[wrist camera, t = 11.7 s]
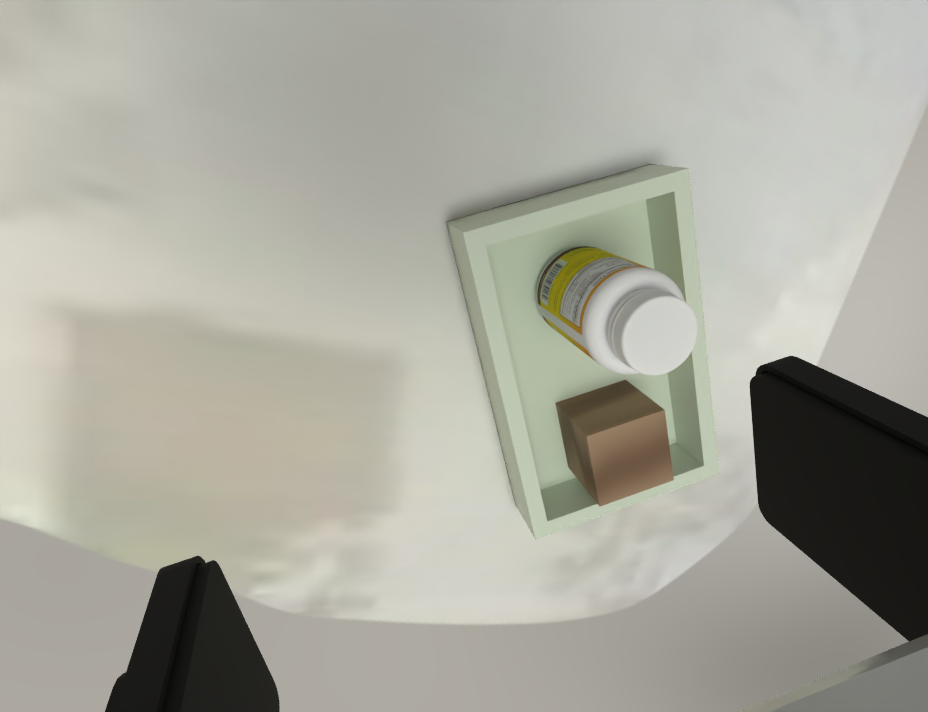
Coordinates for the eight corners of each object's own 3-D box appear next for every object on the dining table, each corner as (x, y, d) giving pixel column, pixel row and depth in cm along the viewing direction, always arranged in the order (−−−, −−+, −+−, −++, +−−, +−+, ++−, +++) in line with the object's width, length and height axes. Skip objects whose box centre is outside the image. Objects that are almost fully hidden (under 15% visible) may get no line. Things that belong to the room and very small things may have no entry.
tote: (446, 221, 37) (463, 232, 34) (650, 164, 39) (688, 168, 35) (515, 504, 45) (535, 539, 41) (684, 445, 47) (719, 473, 43)
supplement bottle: (623, 316, 41) (719, 371, 32) (542, 343, 41) (616, 408, 31) (610, 231, 39) (708, 263, 30) (524, 258, 38) (597, 299, 29)
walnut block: (555, 402, 42) (586, 436, 38) (625, 379, 43) (664, 409, 38) (568, 467, 44) (599, 506, 39) (635, 443, 45) (673, 480, 40)
